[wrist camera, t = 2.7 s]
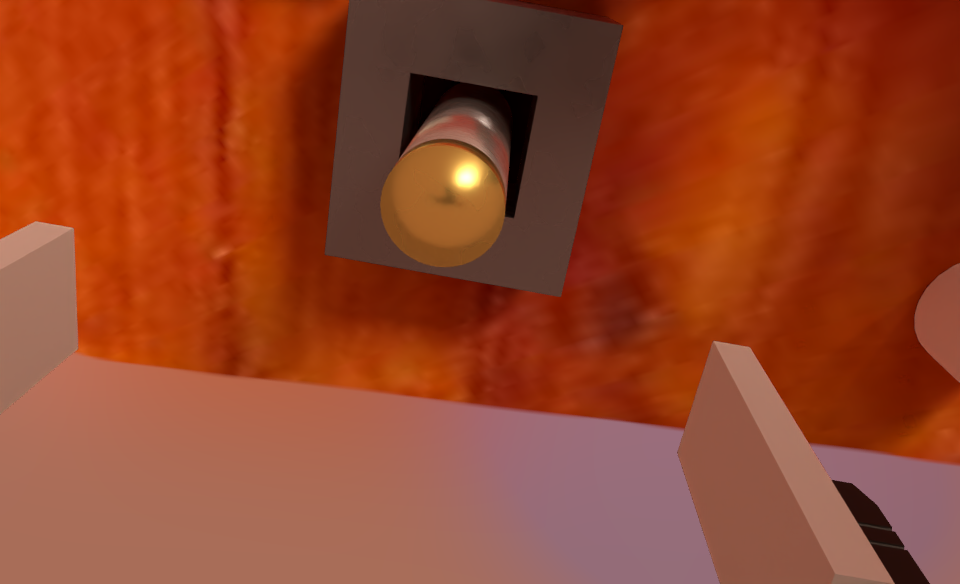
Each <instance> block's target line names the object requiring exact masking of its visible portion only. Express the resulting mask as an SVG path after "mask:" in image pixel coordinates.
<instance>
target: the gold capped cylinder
mask: <svg viewBox="0 0 960 584" xmlns="http://www.w3.org/2000/svg"><path fill="white" fill-rule="evenodd" d="M512 127H513V118H512V113H511V109H510V107H509V104H508V102H507V101H506V99H505V98H504V97H503V95H502V94H501V93H500V92H499V91H497V90H496V89H495V88H492V87H486V86H481V85H475V84H470V83H465V82H464V83H460V84H458V85H455V86H453V87H452V88H450V89H449V90H448V91H446V92H445V93H444V94H443V95H442V97H441V98H440V99H439V101H438V102H437V104H436V105H435V107H434V108H433V110H432V111H431V113H430V114H429V116H428V117H427V119H426V120H425V122H424V123H423V125H422V126H421V128H420V129H419V131H418V132H417V134H416V135H415V137H414V138H413V139H412V141H411V142H410V144H409V145H408V147H407V148H406V150H405V151H404V153H403V154H402V156H401V157H400V159H399V160H398V162H397V163H396V165H395V166H394V168H393V169H392V171H391V172H390V174H389V175H388V177H387V179H386V181H385V183H384V186H383V189H382V194H381V203H380V207H381V216H382V220H383V223H384V226H385V229H386V231H387V233H388V235H389V236H390V238H391V239H392V241H393V242H394V243H395V245H396V246H397V247H398V248H399V249H400V250H401V251H403V252H404V253H405V254H406V255H408V256H409V257H411V258H412V259H414V260H416V261H418V262H421V263H423V264H426V265H430V266H435V267H454V266H459V265H463V264H466V263H469V262H471V261H473V260H475V259H477V258H479V257H480V256H481V255H483V254H484V253H485V252H486V251H487V250H488V249H489V248H490V247H491V246H492V245H493V244H494V242H495V241H496V239H497V237H498V236H499V234H500V231H501V229H502V226H503V222H504V217H505V207H506V196H507V184H508V173H509V161H510V150H511V138H512Z"/></svg>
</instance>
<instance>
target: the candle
mask: <svg viewBox="0 0 960 584" xmlns="http://www.w3.org/2000/svg"><path fill="white" fill-rule="evenodd" d="M914 324H915V332H916V335H917V338H918V341H919V342H920V344H921V345H922V346H923V348H924V349H925V350H926V351H927V352H928V353H929V354H930V355H931V356H932V357H933V358H934V359H935V360H936V361H937V362H938V363H939V364H940V365H941V366H942V367H943V368H944V369H945V370H947V371H948V372H949V373H950V374H951V375H952V376H953V377H954V378H955V379H956V380H957V381H958V382H959V383H960V263H959V264H957V265H954V266H952V267H950V268H949V269H948V270H946V271H945V272H943V273H942V274H940V275H939V276H937V277H936V279H935V280H934V281H933V282H932V283H931V284H930V285H929V286H928V287H927V288H926V290H925V291H924V293H923V295H922V296H921V298H920V300H919V301H918V305H917V308H916V312H915V315H914Z"/></svg>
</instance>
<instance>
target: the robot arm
mask: <svg viewBox="0 0 960 584" xmlns="http://www.w3.org/2000/svg"><path fill="white" fill-rule="evenodd" d="M77 349H78V331H77V303H76V275H75V247H74V228H71V227H65V226H59V225H54V224H48V223H42V222H37V221H36V222H34V223H32V224H30V225H28V226H26V227H24V228H22V229H20V230H18V231H16V232H14V233H12V234H10V235H8V236H6V237H4V238H2V239H0V414H2V413H3V412H4V411H5V410H6V409H8V408H9V407H10V406H11V405H12V404H14V403H15V402H16V401H17V400H18V399H19V398H21V397H22V396H23V395H24V394H25V393H27V392H28V391H29V390H30V389H31V388H32V387H34V386H35V385H36V384H37V383H38V382H39V381H40V380H42V379H43V378H44V377H45V376H47V375H48V374H49V373H50V372H51V371H52V370H53V369H55V368H56V367H57V366H58V365H60V364H61V363H62V362H63V361H64V360H65V359H67V358H68V357H69V356H70V355H71V354H73V353H74V352H75V351H76V350H77ZM677 453H678V456H679V459H680V462H681V465H682V469H683V472H684V475H685V477H686V481H687V484H688V487H689V490H690V493H691V496H692V499H693V502H694V505H695V508H696V511H697V514H698V518H699V521H700V524H701V527H702V530H703V533H704V536H705V539H706V542H707V545H708V548H709V551H710V554H711V557H712V560H713V564H714V566H715V570H716V572H717V576H718V579H719V582H720V584H930V583H929V582H928V580H927V579H926V577H925V576H924V574H923V573H922V572H921V570H920V568H919V567H918V566H917V564H916V562H915V561H914V560H913V558H912V556H911V555H910V553H909V552H908V551H907V550H904V545H903V543H902V542H901V540H900V539H899V537H898V536H897V534H896V533H895V532H893V531H892V527H891V525H890V524H889V522H888V521H887V519H886V518H885V516H884V515H883V513H882V512H881V510H880V509H879V507H878V506H877V505H876V504H875V503H874V502H873V501H872V500H870V499H869V498H868V497H867V496H866V495H865V494H864V493H862V492H861V491H860V490H859V489H858V488H857V487H856V486H854V485H853V484H852V483H846V482H840V481H835V480H831V479H830V477H829V476H828V474H827V473H826V471H825V469H824V467H823V466H822V464H821V463H820V461H819V459H818V458H817V456H816V454H815V453H814V451H813V450H812V448H811V446H810V445H809V443H808V441H807V440H806V438H805V436H804V435H803V433H802V431H801V430H800V428H799V427H798V425H797V423H796V422H795V420H794V418H793V417H792V415H791V414H790V412H789V410H788V409H787V407H786V405H785V404H784V402H783V400H782V399H781V397H780V396H779V394H778V392H777V391H776V389H775V387H774V386H773V384H772V383H771V381H770V379H769V378H768V376H767V374H766V373H765V371H764V369H763V368H762V366H761V365H760V363H759V361H758V360H757V358H756V356H755V355H754V353H753V352H752V350H751V348H750V347H746V346H740V345H735V344H729V343H723V342H718V341H713V343H712V346H711V349H710V352H709V355H708V358H707V361H706V364H705V368H704V371H703V374H702V377H701V380H700V383H699V386H698V389H697V393H696V396H695V399H694V402H693V405H692V408H691V411H690V414H689V418H688V421H687V424H686V427H685V430H684V434H683V436H682V439H681V443H680V446H679V449H678V452H677Z"/></svg>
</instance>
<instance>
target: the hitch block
mask: <svg viewBox="0 0 960 584" xmlns="http://www.w3.org/2000/svg"><path fill="white" fill-rule="evenodd" d="M622 29H623V25H621V24H619V23H618V22H616V21H614V20H612V19H610V18H609V17H604V16H598V15H593V14H588V13H582V12H577V11H571V10H566V9H560V8H555V7H550V6H544V5H539V4H533V3H528V2H522V1H517V0H349V10H348V20H347V30H346V41H345V51H344V61H343V72H342V82H341V92H340V102H339V113H338V123H337V133H336V144H335V154H334V164H333V174H332V185H331V195H330V205H329V216H328V226H327V236H326V246H325V255H329V256H335V257H340V258H346V259H351V260H357V261H363V262H368V263H374V264H379V265H385V266H391V267H396V268H402V269H407V270H413V271H418V272H424V273H430V274H435V275H441V276H446V277H452V278H458V279H463V280H469V281H474V282H480V283H486V284H491V285H497V286H502V287H508V288H514V289H519V290H525V291H530V292H536V293H541V294H547V295H553V296H558V297H561V294H562V289H563V285H564V281H565V276H566V272H567V268H568V263H569V259H570V255H571V250H572V246H573V242H574V237H575V233H576V229H577V224H578V220H579V215H580V211H581V207H582V202H583V198H584V194H585V189H586V185H587V181H588V176H589V172H590V168H591V163H592V159H593V155H594V150H595V146H596V142H597V137H598V133H599V129H600V124H601V120H602V115H603V111H604V107H605V102H606V98H607V94H608V89H609V85H610V81H611V76H612V72H613V68H614V63H615V59H616V55H617V50H618V46H619V42H620V37H621V33H622ZM425 75H426V76H432V77H437V78H443V79H448V80H454V81H459V82H465V83H470V84H475V85H481V86H486V87H492V88H497V89H503V90H508V91H514V92H519V93H525V94H530V95H533V98H532V103H531V108H530V113H529V118H528V124H527V129H526V134H525V139H524V144H523V149H522V155H521V160H520V165H519V170H518V175H517V180H516V184H513V183H508V184H507V196H506V207H505V217H504V222H503V226H502V229H501V231H500V234H499V236H498V237H497V239H496V241H495V242H494V244H493V245H492V246H491V247H490V248H489V249H488V250H487V251H486V252H485V253H484V254H483V255H481V256H480V257H479V258H477V259H475V260H473V261H471V262H469V263H466V264H463V265H459V266H454V267H435V266H430V265H426V264H423V263H421V262H418V261H416V260H414V259H412V258H411V257H409V256H408V255H406V254H405V253H404V252H403V251H401V250H400V249H399V248H398V247H397V246H396V245H395V243H394V242H393V241H392V239H391V238H390V236H389V235H388V233H387V231H386V229H385V226H384V223H383V220H382V216H381V207H380V203H381V194H382V189H383V186H384V183H385V181H386V179H387V177H388V175H389V174H390V172H391V171H392V169H393V168H394V166H395V165H396V163H397V162H398V160H399V159H400V157H401V156H402V154H403V153H404V151H405V150H406V148H407V147H408V145H409V144H410V142H411V141H412V139H413V138H414V137H415V135H416V134H417V128H418V121H419V114H420V107H421V99H422V92H423V85H424V78H425Z"/></svg>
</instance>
